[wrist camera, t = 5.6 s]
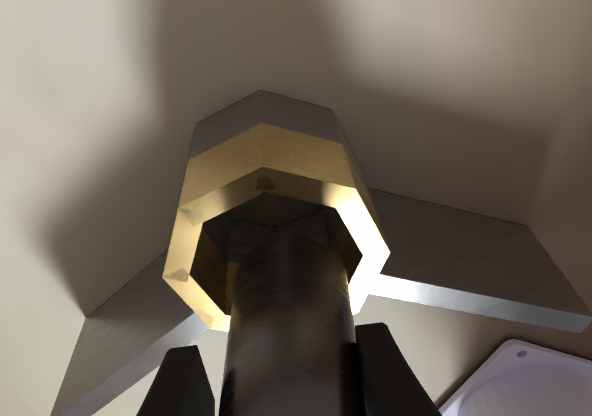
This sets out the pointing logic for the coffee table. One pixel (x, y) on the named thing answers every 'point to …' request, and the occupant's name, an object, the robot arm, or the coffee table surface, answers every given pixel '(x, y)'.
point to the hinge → (316, 226)
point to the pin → (291, 335)
